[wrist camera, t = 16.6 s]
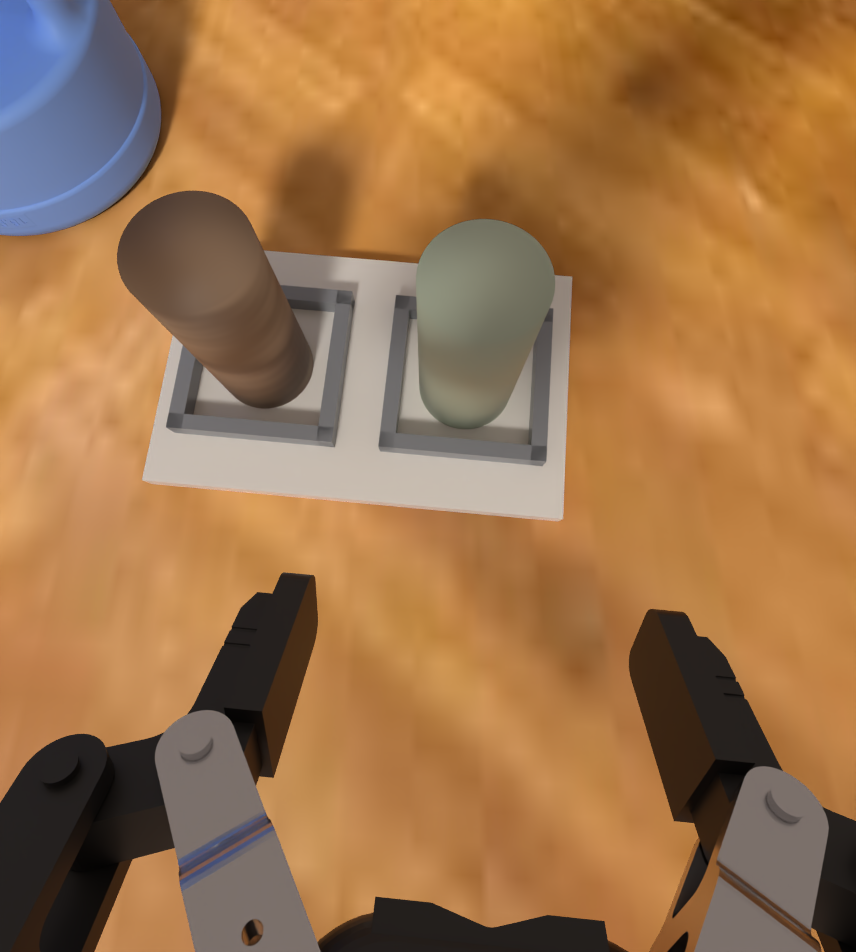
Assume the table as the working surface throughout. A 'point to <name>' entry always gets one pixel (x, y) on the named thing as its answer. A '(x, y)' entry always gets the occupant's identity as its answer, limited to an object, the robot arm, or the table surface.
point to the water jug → (70, 113)
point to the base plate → (368, 409)
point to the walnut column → (217, 295)
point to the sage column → (478, 317)
